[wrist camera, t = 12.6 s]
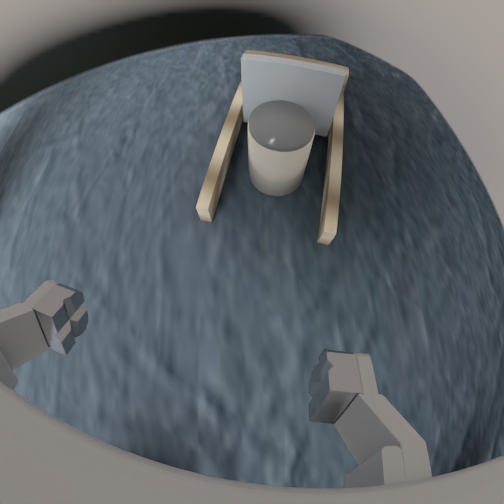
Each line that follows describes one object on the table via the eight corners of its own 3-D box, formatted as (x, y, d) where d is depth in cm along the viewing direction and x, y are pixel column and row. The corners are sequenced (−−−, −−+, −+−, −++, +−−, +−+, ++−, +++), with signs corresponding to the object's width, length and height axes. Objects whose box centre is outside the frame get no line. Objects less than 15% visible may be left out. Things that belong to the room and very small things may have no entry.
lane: (328, 244, 24) (345, 221, 19) (200, 220, 25) (189, 191, 20) (339, 98, 29) (348, 67, 24) (246, 82, 30) (246, 50, 25)
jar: (243, 190, 25) (240, 141, 19) (254, 147, 27) (254, 95, 20) (299, 201, 25) (313, 154, 18) (305, 156, 27) (318, 106, 20)
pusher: (326, 136, 26) (345, 76, 19) (243, 122, 27) (240, 59, 19) (327, 129, 27) (345, 70, 19) (245, 115, 27) (243, 53, 20)
